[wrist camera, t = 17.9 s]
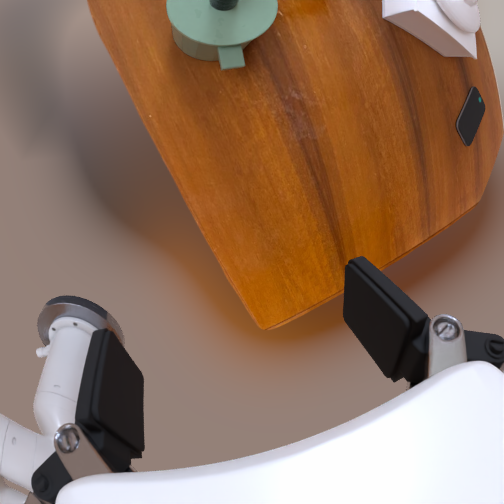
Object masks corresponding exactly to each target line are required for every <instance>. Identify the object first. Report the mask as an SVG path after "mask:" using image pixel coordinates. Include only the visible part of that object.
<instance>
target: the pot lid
mask: <svg viewBox="0 0 504 504" xmlns="http://www.w3.org/2000/svg"><path fill="white" fill-rule="evenodd" d="M166 7H167V14H168V17H169V20H170V22H171V23H172V25H173V26H174V27H175V28H176V29H177V30H178V31H179V32H180V33H181V34H182V35H184V36H185V37H187V38H189V39H191V40H193V41H195V42H198V43H201V44H206V45H211V46H234V45H239V44H243V43H246V42H249V41H251V40H253V39H255V38H257V37H259V36H260V35H261V34H263V33H264V32H265V31H266V30H267V29H268V28H269V27H270V26H271V25H272V23H273V21H274V20H275V17H276V14H277V9H278V3H277V0H167V3H166Z"/></svg>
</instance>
